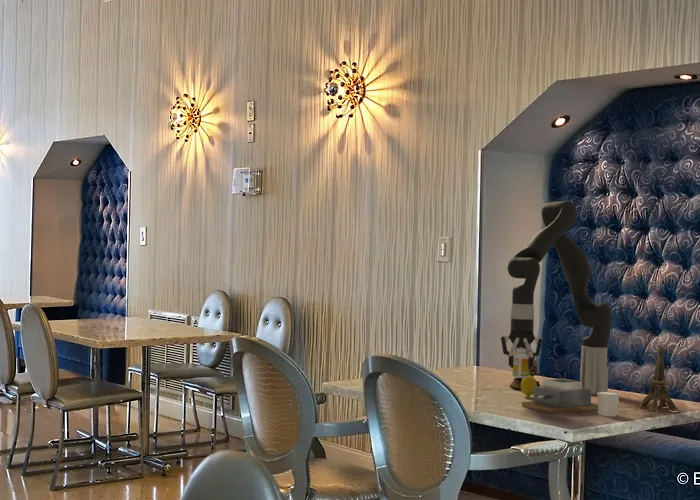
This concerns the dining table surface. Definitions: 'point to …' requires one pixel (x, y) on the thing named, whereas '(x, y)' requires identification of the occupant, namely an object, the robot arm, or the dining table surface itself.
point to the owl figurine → (517, 381)
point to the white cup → (607, 403)
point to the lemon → (528, 385)
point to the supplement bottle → (521, 363)
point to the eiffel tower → (658, 387)
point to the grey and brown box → (561, 397)
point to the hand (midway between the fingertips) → (520, 367)
